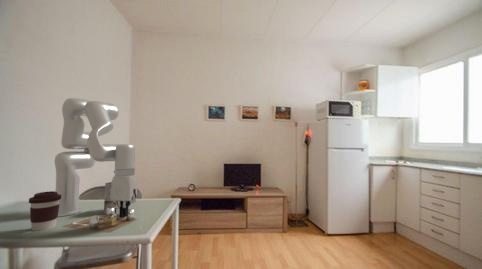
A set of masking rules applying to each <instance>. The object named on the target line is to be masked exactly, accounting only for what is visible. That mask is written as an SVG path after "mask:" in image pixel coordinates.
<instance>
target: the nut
mask: <svg viewBox="0 0 482 269" xmlns="http://www.w3.org/2000/svg"><path fill="white" fill-rule="evenodd" d="M115 223H117V217H116V215H114V216H108V217H106V218H104V225H113V224H115Z"/></svg>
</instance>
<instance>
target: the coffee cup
mask: <svg viewBox="0 0 482 269" xmlns="http://www.w3.org/2000/svg"><path fill="white" fill-rule="evenodd" d="M55 191H56V190H55ZM55 191H52V190H51V191H42V192H37V193H35V194H34V195H33V197H29V198H28V203H29V204H30V208H29V213H30V214H29V216H30V223H31V231H43V230H48V229H51V228H54V227H56V226H57V219H58V218H59V217H58V212H59V200H60V199H61V196H62V195H60V194H58V193H57V192H55Z"/></svg>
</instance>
